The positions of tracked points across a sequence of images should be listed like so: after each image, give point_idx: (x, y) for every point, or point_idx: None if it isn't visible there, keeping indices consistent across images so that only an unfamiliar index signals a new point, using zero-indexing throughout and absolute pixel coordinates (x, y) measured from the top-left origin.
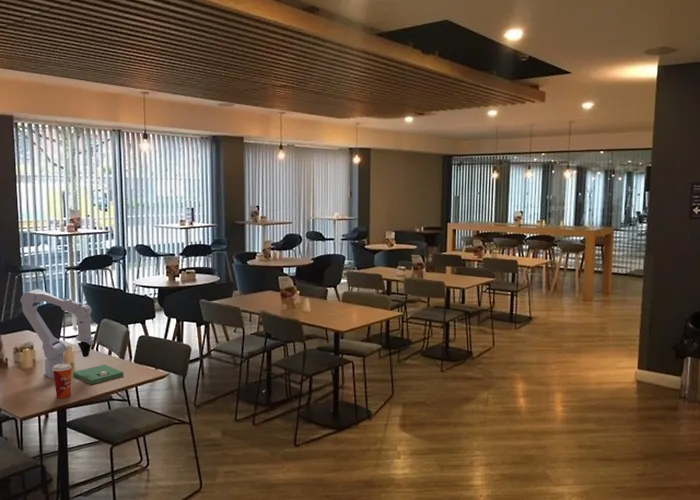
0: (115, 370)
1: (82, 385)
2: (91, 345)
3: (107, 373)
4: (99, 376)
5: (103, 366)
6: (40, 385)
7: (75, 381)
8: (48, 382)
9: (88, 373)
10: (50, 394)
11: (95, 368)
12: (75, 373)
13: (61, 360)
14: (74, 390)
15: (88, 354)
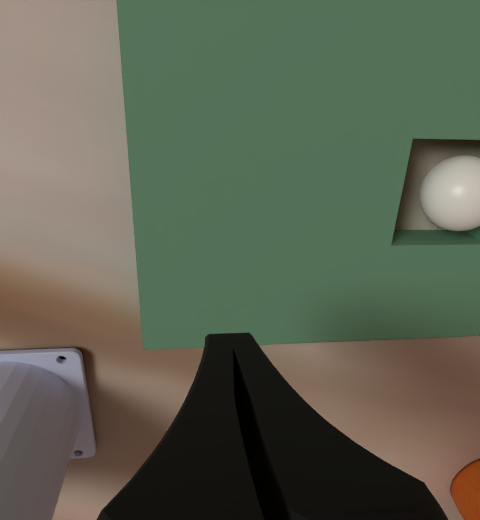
0: (472, 27)
1: (426, 361)
2: (384, 462)
3: (446, 137)
4: (474, 248)
5: (196, 38)
6: None
7: (299, 362)
8: None
9: (304, 277)
10: None
11: (199, 152)
12: (191, 344)
13: (26, 515)
14: (462, 421)
15: (261, 352)
